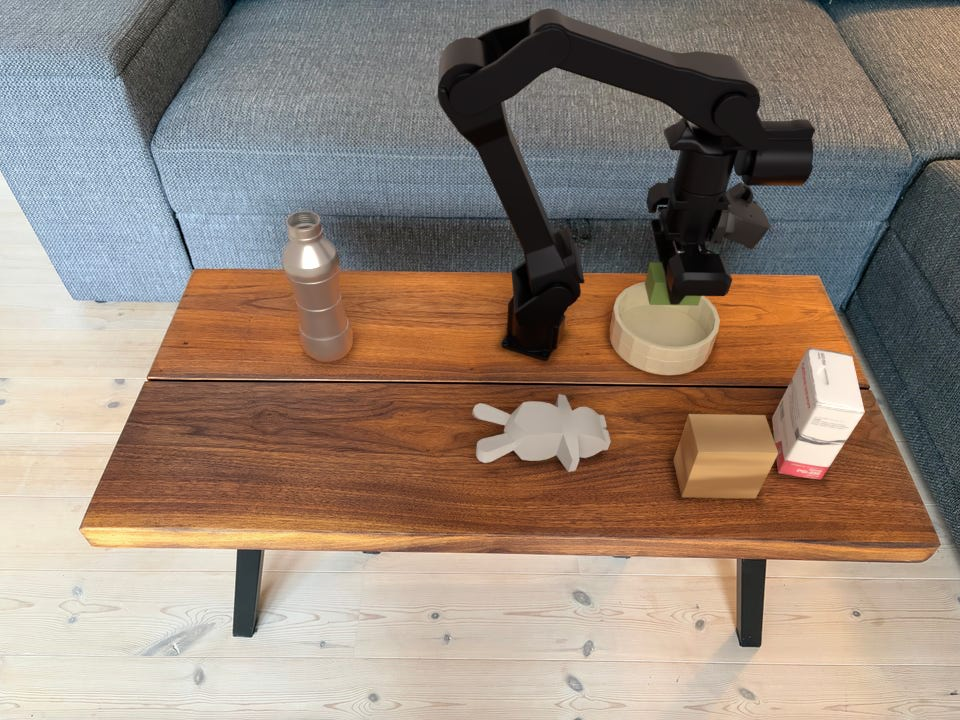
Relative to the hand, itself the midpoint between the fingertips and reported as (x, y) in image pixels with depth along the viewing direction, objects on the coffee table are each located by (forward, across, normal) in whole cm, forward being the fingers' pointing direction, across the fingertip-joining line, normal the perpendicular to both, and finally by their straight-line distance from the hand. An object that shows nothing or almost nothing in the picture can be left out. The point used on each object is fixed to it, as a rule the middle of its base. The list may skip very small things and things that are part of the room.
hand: (671, 292), depth 89 cm
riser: (+8, -22, -2) cm, 24 cm away
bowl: (+8, 0, 0) cm, 8 cm away
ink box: (+8, -18, -13) cm, 23 cm away
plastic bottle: (+8, -3, +43) cm, 44 cm away
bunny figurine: (+8, -18, +17) cm, 26 cm away
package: (0, 0, 0) cm, 0 cm away
